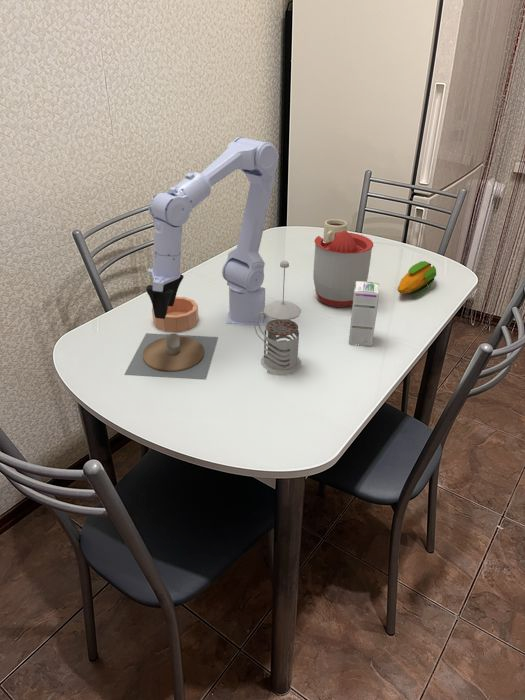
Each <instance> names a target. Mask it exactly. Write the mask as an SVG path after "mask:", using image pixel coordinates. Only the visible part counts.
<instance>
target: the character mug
mask: <svg viewBox="0 0 525 700" xmlns="http://www.w3.org/2000/svg"><path fill="white" fill-rule="evenodd" d="M323 227H324V228H323V237H322V238H323V243H328V242H331V241H333V240H334V236H335V232H342V231H347V232H348V229H347V228H348V222H347V221H345V220H343V219H339V218H338V219H336V218H330V219H327V220H325V221H324V226H323Z"/></svg>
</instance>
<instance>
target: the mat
mask: <svg viewBox="0 0 525 700" xmlns="http://www.w3.org/2000/svg"><path fill="white" fill-rule="evenodd" d="M169 334H170V333H168V334H167V333H166V334H165V333H150V332H149V333H148V332H146V333H145V334H144V336H143V339H142V341H141V342H140V343H139V346H138V348H137V350H136V352H135V353H134V355H133V358H132V359H131V361H130V363H129V365H128V367H127V369H126V371H125V372H124V375H125V376H138V377H155V378H171V379H172V378H173V379H187V380H188V379H191V380H204V381H205V380H207V377H208V373H209V370H210V367H211V363H212V360H213V357H214V353H215V350H216V346H217V343H218V339H219V336H206V335H205V336H203V335H189V334H188V335H187V334H185V335H183V334H178V335H179V336H181V337H188V338H192V339H194V340H197V341H198V342H200V343H201V344H202V346H203V348H204V357H203V359H202V361H201V362H200V363H198V364H197V365H195V366H194V367H192V368H189V369H186V370H182V371H176V372H164V371H158V370H155V369H152V368H151V367H149V366H148V365H147V364H146V363H145V362H144V360H143V351H144V349H145V348H146V347H147V346H148V345H149V344H150V343H152V342H154V341H156V340H158V339H161V338H165V337H166V336H167V335H169Z"/></svg>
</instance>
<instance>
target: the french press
mask: <svg viewBox="0 0 525 700" xmlns="http://www.w3.org/2000/svg"><path fill="white" fill-rule="evenodd" d="M279 267H280V268H282V269H283V281H282V282H283V283H282V285H283V286H282V288H283V289H282V300H275V301H273V302H270V303H268V304H267V305H266V304H265V308H264V310H263V311H262V312H261V313H264V314H265V315H264V319H267V318H268V317H269V318H271V319H272V320H270V321H268V322H267V323H266V324H265V330H264V332H263V330H262V328H261V325H260V324H259V318H260V315H261V313H259V314H258V315H259V317H258V325H257V326H258V327H259V330H260V332H261V334H262V335H263V336H264V339H263V338H262V337H261V336H260V335H259V334H258V331H257V329H256V325H255V321H256V318H257V316H258V315H257V316H256V318H255V320H254V325H253V326H254V327H253V328H254V331H255V334H256V335H257V337H258V338H259V339H260V340H261V341H262V342H263V356H262V357H261V359H260V364H261V366H262V367H263V368H264V369H265V370H267V371H266V372H267V374H270V375H274V376H288V375H292V374H295V373H297V372H299V369H300V370H301V368H300V367H302V366H301V363H302V360H301V359H300V358H299V357H298V356H299V343H300V342H299V341H300V340H299V339H300V330H299V325H298V324H297V323H296V322H295V321H293V320H295V319H296V318H299V316H300V315H301V314H302V308H301V307H300V306H299V305H297V303H294V302H292V301H289V300H285V299H284V298H285V280H286V277H285V276H286V268H289V267H290V263H289V261H288V260H285V259H284V260H281V261H280V263H279ZM293 334H294V335H293ZM290 336H291V337H290ZM292 338H293V339H292ZM281 339H283V340H281Z"/></svg>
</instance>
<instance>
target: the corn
mask: <svg viewBox="0 0 525 700" xmlns="http://www.w3.org/2000/svg"><path fill="white" fill-rule="evenodd" d="M436 277H437V268H436V266H435V265H432V264H431V262H428V261H425V260H424V261H419V262H417V263H415V264H413V265H412V266H411V267H410V268H409V269H408V271H407V273H406V274H405V275H404V276H403V277H402V278H401V280H400V283H399V284H398V286H397V289H396V290H397V292H398V293H399V294H401V295H403V294H411V293H413V292H415V291H417V290H419V289H421V288H423V287H424V286H425V287H424V288H423V289H421V290H420V291H418V292H416V293H415V294H414V295H413V297H415V296H418V295H420V294H421V293H422V292H423V291H425V290H427V289H428V288H430V287H431V286H432V284H433V283H434V281H435V278H436ZM427 284H428V286H427ZM426 286H427V287H426Z"/></svg>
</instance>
